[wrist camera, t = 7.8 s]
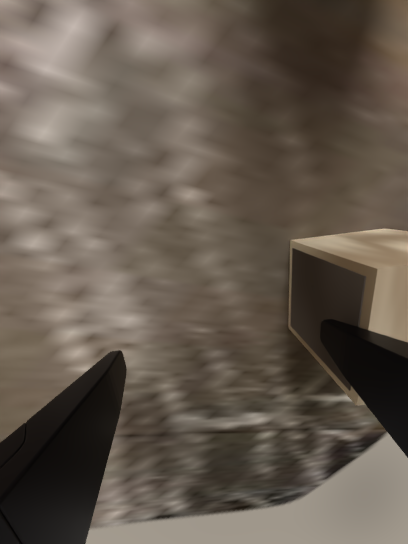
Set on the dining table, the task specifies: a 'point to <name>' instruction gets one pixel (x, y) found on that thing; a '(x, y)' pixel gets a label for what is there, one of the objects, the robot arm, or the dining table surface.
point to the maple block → (348, 289)
